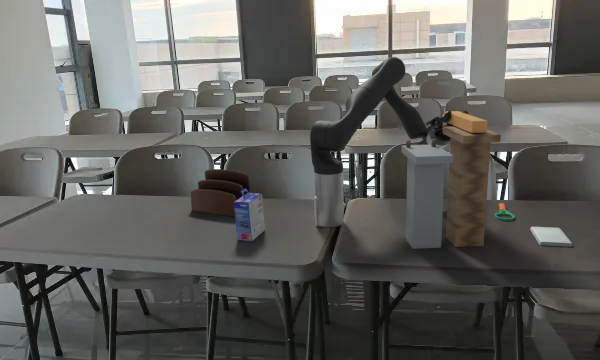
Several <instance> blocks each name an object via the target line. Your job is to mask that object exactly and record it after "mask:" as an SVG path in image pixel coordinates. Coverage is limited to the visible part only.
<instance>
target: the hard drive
mask: <svg viewBox="0 0 600 360" xmlns="http://www.w3.org/2000/svg"><path fill="white" fill-rule="evenodd" d="M530 231H531V233H532V235H533V237H534V238H535V240H536V241H537V243H538V244H539V246H549V247H566V248H567V247H569V248H572V247H573V243H572V242H571V240H570V239H569V238H568V237H567V235H566V234H565V233H564V232H563V231H562V229H561V228H560V227H548V226H546V227H545V226H531V227H530Z"/></svg>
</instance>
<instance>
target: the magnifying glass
mask: <svg viewBox="0 0 600 360" xmlns="http://www.w3.org/2000/svg"><path fill="white" fill-rule="evenodd" d="M498 209H499V210H498V211H496V213H495V212H494V215H493V217H494V218H495V220H499V221H502V222H512V221H514V220H515V217H516V216H515V214H513V213H512V212H510V211H508V210H507V209H506V204H505V203H502V202H500V203H498ZM500 216H506V217H505V218H504V217H500ZM507 217H509V218H507Z"/></svg>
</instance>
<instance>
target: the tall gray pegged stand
mask: <svg viewBox="0 0 600 360" xmlns="http://www.w3.org/2000/svg"><path fill="white" fill-rule="evenodd" d="M411 140H412V139H406V140H405V145H401V153H402V154H403V155H404V156H405V157H406V158H407V168H406V170H407V171H406V205H405V208H406V209H405V211H406V212H405V240H406V241H407V243H408V244H409V246H410V248H411V249H413V250H414V249H416V250H417V249H440V248H442V235H443V234H442V231H443V212H444V210H443V209H444V186H445V168H446V167H445V165H446V164H449V163H453V155H452V154H450V152H449V151H446V150H445V149H442V148H440V147H438V146H437V145H436V139H432V143H431V145H417V144H412V143H411V142H412V141H411Z"/></svg>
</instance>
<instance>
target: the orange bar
mask: <svg viewBox="0 0 600 360" xmlns="http://www.w3.org/2000/svg"><path fill="white" fill-rule="evenodd" d="M448 111H449V110H448ZM448 111H444V115H445V114H446V113H447V112H448ZM450 111H451V113H452V114H451V115H452V118H451V119H450V121H449V122H448V123H449V124H452V125H454V126H456V127H459V128H461V129H463V130H466V131H468V132H471V133H483V132H487V130H488V122H489V121H488V120H486V119H483V118H480V117H477V116H475V115H472V114H469V113H468V114H465V113H462V112H463V111H458V110H453V111H452V110H450Z"/></svg>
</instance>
